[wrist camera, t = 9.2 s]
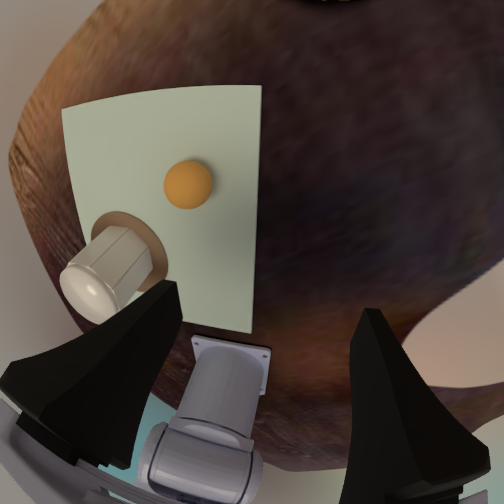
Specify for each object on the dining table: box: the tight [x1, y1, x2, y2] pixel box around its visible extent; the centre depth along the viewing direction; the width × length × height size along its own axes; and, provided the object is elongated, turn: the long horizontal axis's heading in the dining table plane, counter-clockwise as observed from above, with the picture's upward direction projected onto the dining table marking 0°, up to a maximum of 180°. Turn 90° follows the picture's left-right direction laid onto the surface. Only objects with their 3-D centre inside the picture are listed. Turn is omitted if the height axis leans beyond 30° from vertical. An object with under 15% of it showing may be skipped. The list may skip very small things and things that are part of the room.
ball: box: [163, 161, 212, 209], centre depth 16 cm, size 3×3×3 cm
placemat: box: [62, 85, 262, 333], centre depth 20 cm, size 20×16×1 cm
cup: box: [60, 226, 153, 325], centre depth 19 cm, size 5×5×6 cm
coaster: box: [91, 211, 168, 292], centre depth 22 cm, size 8×8×1 cm
